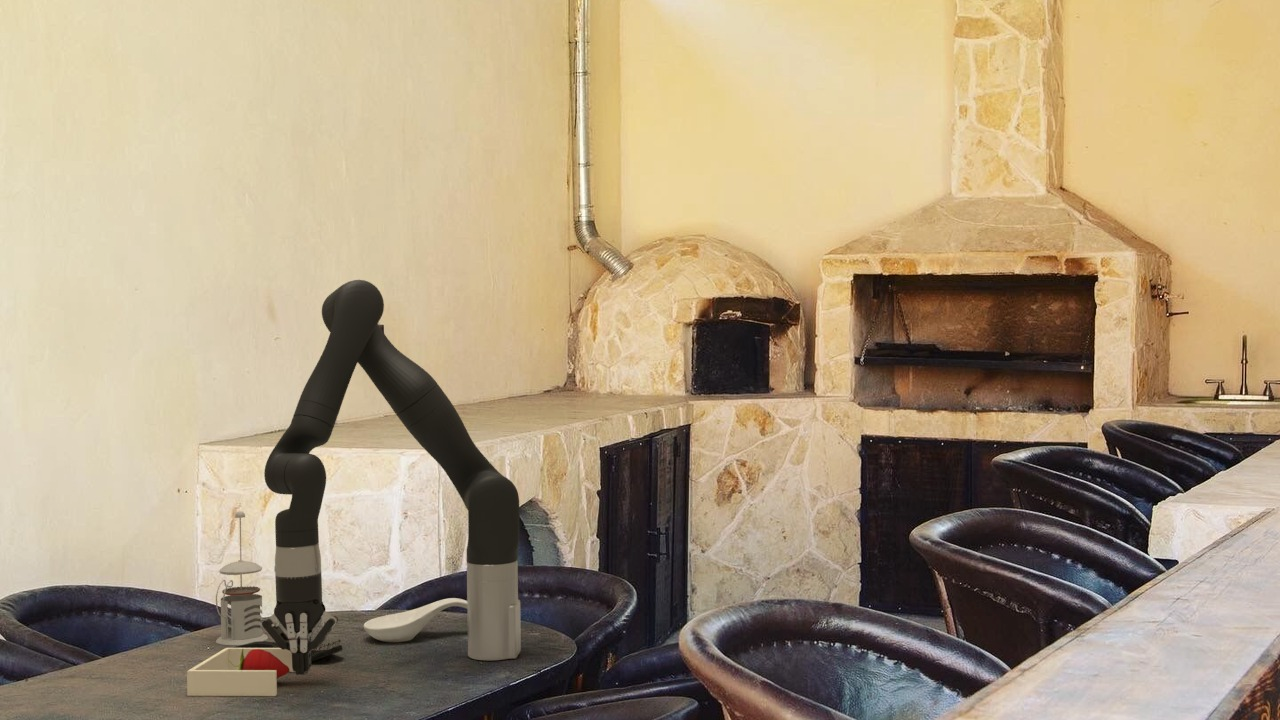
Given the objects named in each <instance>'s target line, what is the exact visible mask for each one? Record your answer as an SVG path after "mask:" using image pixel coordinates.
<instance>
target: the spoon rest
mask: <svg viewBox="0 0 1280 720" xmlns="http://www.w3.org/2000/svg"><path fill="white" fill-rule="evenodd" d="M453 607H459V608H463V609H466V610H467V599H466V600H465V599H462V598H458V597H457V598H456V597H450V598H444V599H440V600H437V601H434V602H431V603H428V604H426V605H422V606H420V607H417V608H414V609H410V610H406V611H402V612H398V613H397V612H396V613H392V614H386V615H381V616H378V617H374V618H372V619H369V620H367V621H365V623H364V624H363V629H364V631H366V633H367V634H368V635H369V636H370V637H372V638H373V639H375V640H378V641H381V642H385V643H402V642H409V641H412V640H413V639H414V638H415V637H416V636H417V635H418V634H419V633H420V632H421V631H422V630H423V629H424V628H425V627H426V625H428V623H430V621H432V620H433V619H434V618H435V616H437V615H438V614H439V613H441V611H444V610H445V609H447V608H453Z"/></svg>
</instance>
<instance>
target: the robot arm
mask: <svg viewBox="0 0 1280 720" xmlns="http://www.w3.org/2000/svg"><path fill="white" fill-rule="evenodd" d="M322 303H323V304H322V306H321V317H322V320H323V323H324V325H325V327H326V329H327V330H328V332H329V336H328V339H327V340H326V341H327V342H326V343H325V346H324V349H323V351H322V354H321V356H320V357H319V359H318V361H317V363H316V365H315V367H314V369H313V370H312V372H311V374H310V375H309V378H308V379H307V382H306V383H305V385H304V388H303V389H302V392H301V394H300V397H299V400H298V401H297V404H296V407H295V409H294V413H293V416H292V419H291V423H290V424H289V426H288V427H287V428H286V431H285V432H283V434H282V436H281V437H280V438H279V440H278V442H277V443H276V445H275V446H274V447H273V449H272V451H271V452H270V454H269V456H268V458H267V461H266V463H265V466H264V472H263V473H264V480H265V484H266V487H267V488H268V489H269V491H271V492H273V493H275V494H279V495H290V496H291V500H290V504H289V507H288V508H287V509H283V510H281V511H279V512H277V514H276V516H275V518H274V519H275V521H274V523H275V524H274V525H275V532H274V533H275V554H274V555H275V556H274V566H273V567H274V569H273V570H274V574H275V601H276V604H275V606H274V609H273V614H271V616H269V617H268V618H266V619H264V620H262V622H261V623H262V626H261V627H262V628H264V630H265V631H266V632H267V633H268V635H270V637H271V638H272V640H273V642H276V643H277V644H278V646H279V647H280V648H281V649H283V650H284V649H286V650H289V651H291V653H292V669H293V671H296V672H295V675H298V676H299V675H301V676H305V675H307V674H308V673H309V671H310V670H311V668H312V661H311V650H314V649H315V650H316V648H317V647H319V646H320V645H321V644H323V642H324V641H325V640H326V638H327V637H328V635H329V634H331V631H332V630H333V629H334V628H335V626H336V625H337V624H338V621H339V617H337V616H336V615H335V616H333V615H330V613H329V612H327V610H326V606H325V604H324V602H323V585H322V584H323V583H322V579H323V577H322V557H321V556H322V555H321V550H320V542H319V541H320V540H319V539H320V538H319V537H320V536H319V516H320V513H321V508H322V503H323V499H324V494H325V491H326V490H325V489H326V484H327V472H326V468H325V465H324V463H323V461H322V459H320V458H319V457H318V456H317V455H315V454H313V453H311V452H312V451H313V450H314V449H315V448H318V447H321V446H324V445H326V444H327V443H328V442H329V440H330V438H331V436H332V433H333V430H334V427H335V424H336V422H337V420H338V416H339V414H340V411H341V407H342V404H343V401H344V399H345V396H346V393H347V389H348V387H349V386H350V382H351V379H352V377H353V375H354V372H355V369H356V367H357V365H359V367H361V368H362V369H363V371H364V372H365V373H366V375H367V376H368V378H369V379H370V381H371V382H372V383H373V385H374V386H375V388H376V389H377V390H378V391H379V392H380V394H381V395H382V397H383V399H385V401H386V402H387V403H388V405H389V407H390V408H391V409H392V411H393V413H395V415H396V416H397V418H398V419H399V420H400V422H401V423H402V424H403V426H404V427H405V428H406V429H407V431H408V432H409V433H410V435H411V436H412V437H413V438H414V439H415V440H416V442H417V443H419V445H420V446H421V447H422V448H423V449H424V450H425V451H426V452H427V453H428V454H429V455H430V456H431V457H432V458H433V459H434V460H435V461H436V463H437V464H439V466H440V467H441V468H442V469H443V471H444V473H445V474H446V475H447V476H448V478H449V480H450V481H451V483H452V484H453V487H454V488H455V489H456V491H457V493H458V495H459V496H460V498H461V500H462V502H463V504H464V505H465V508H466V509H467V513H468V514H467V518H468V519H467V520H468V521H467V524H468V529H467V530H468V534H467V535H468V538H467V547H466V596H467V597H466V601H467V609H466V610H467V611H466V612H467V615H466V616H467V656H468V657H469V658H470V659H473V660H477V661H478V660H479V661H501V660H502V661H503V660H508V659H517V657H518V655H519V654H520V653H521V652H522V637H521V636H522V634H521V633H522V631H521V629H522V628H521V626H522V625H521V621H522V620H521V600H520V599H519V589H518V587H519V585H518V584H519V580H518V579H519V577H518V573H519V572H518V571H519V569H518V567H519V565H518V552H519V545H520V497H519V491H518V489H517V488H516V485H515V484H514V483H513V482H512V481H511V480H510V479H509V478H508V477H506V476H504V475H503V474H502V473H500V472H499V471H498V469H497V468H495V466H493V464H492V463H491V462H490V461H489V460H488V459H487V458H486V457H485V455H484V454H483V453H482V452H481V451H480V449H479V448H478V447H477V445H476V444H475V443H474V441H473V439H472V438H471V436H470V434H469V432H468V430H467V429H466V426H465V424H464V422H463V420H462V418H461V416H460V414H459V412H458V411H457V409H456V408H455V407H454V404H453V402H452V401H451V400H450V398H449V397H448V396H447V394H446V393H445V392H444V391H443V389H442V387H441V386H439V384H438V382H437V381H436V379H435V378H434V377H432V375H431V374H430V373H428V371H426V369H424V368H423V367H422V366H420V365H419V364H417V363H416V362H414V361H413V360H412V359H410V358H409V357H408V356H406V355H405V354H403V353H402V352H401V351H400V350H398V349H397V348H396V347H395V345H394V344H392V342H391V341H390V340H389V339H388V337H387V335H386V334H385V332H383V330H382V329H381V327H380V325H379V324H378V323H379V322H380V320H381V318H382V317H383V314H384V311H385V310H384V308H385V304H384V298H383V295H382V293H381V291H380V290H379V288H378V287H377V286H376V285H375V284H373V283H372V282H371V281H367V280H364V279H354V280H350V281H347V282H345V283H344V284H342V285H340V286H339V287H337V288H336V289H335V290H333V292H331V293H330V294H328V295H327V297H326V298H325V300H324V301H323V302H322ZM320 620H321V622H320ZM319 622H320V625H321V629H320V631H319V632H318V633H317V634H316V636H315V637H314V639H313V635H314V629H315V628H316V626H317V625H318V624H319ZM280 624H281V625H282V627H283V628H284V630H285V631H286V633H287V634H286V633H285V632H284V630H283V629H282V627H280ZM321 646H322V645H321ZM321 646H320V647H321ZM317 649H318V648H317Z"/></svg>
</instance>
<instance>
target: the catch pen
mask: <svg viewBox="0 0 1280 720" xmlns="http://www.w3.org/2000/svg"><path fill="white" fill-rule="evenodd" d="M242 649H243V656H244V658H245V657H246V655H247V654H248V652H249V651H251V650H253V649H262V650H265V651H267V652H270V653H271V654H273V655H274V656H275V657H277V658H278V659H279V660H280V661H281V662H282V663H284V664H285V665H286V666H288V667H289V672H288V673H296V671H293V669H292V653H291V651H289V650H286V649H284V650H283V649H281V648H233V647H225V648H224V649H222V650H219V652H217V653H215V654H213V655H212V656H210V657H208V658H207V659H205V660H204V661H201V662H200V663H198V664H196V665H195V666H193V667H191V668H190V669H188V670H187V671H186V684H187V685H186V687H187V691H186V692H187V697H189V696H190V697H192V696H193V697H199V696H200V697H201V696H202V697H212V696H213V697H215V696H216V697H219V696H222V697H223V696H224V697H276V696H277V695H278V692H277V691H278V690H277V689H278V683H277V682H278V681H277V680H278V678H277V671H276V670H239V667H234V666H239V665H240V662H241V661H240V658H241V653H242ZM231 663H232V664H233V665H234V666H233V665H232V664H231Z"/></svg>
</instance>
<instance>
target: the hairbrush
mask: <svg viewBox="0 0 1280 720" xmlns="http://www.w3.org/2000/svg"><path fill="white" fill-rule="evenodd" d="M341 641H342V640H341V639H339V640H338V641H333V642H331V643H330V642H328V643H327V644H326V643H324V644H323V643H322V644H321V645H320V646H318V647H317V648H316V649H312V650H311V662H313V661H316V660H319V659H322V658H324V657H327V656H331V655H333V654H336V653H339V652H342V651H343V650H344V649H343V645H342V644H339V643H341ZM335 644H336V645H335ZM334 645H335V646H334ZM232 648H280V647H279V646H278V644H277V643H276V642H275V641H267V640H265V641H258V642H252V643H248V644H244V645H235V646H233V647H232Z"/></svg>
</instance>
